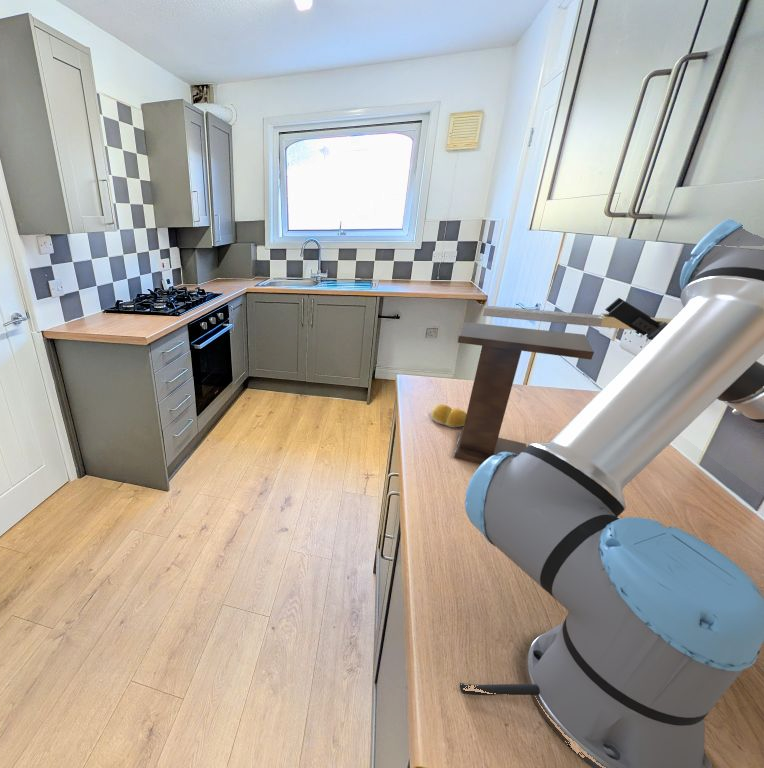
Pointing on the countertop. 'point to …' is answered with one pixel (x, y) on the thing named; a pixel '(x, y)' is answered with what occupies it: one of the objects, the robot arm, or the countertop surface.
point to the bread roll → (448, 416)
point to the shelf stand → (503, 381)
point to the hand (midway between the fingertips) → (614, 305)
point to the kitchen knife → (561, 317)
